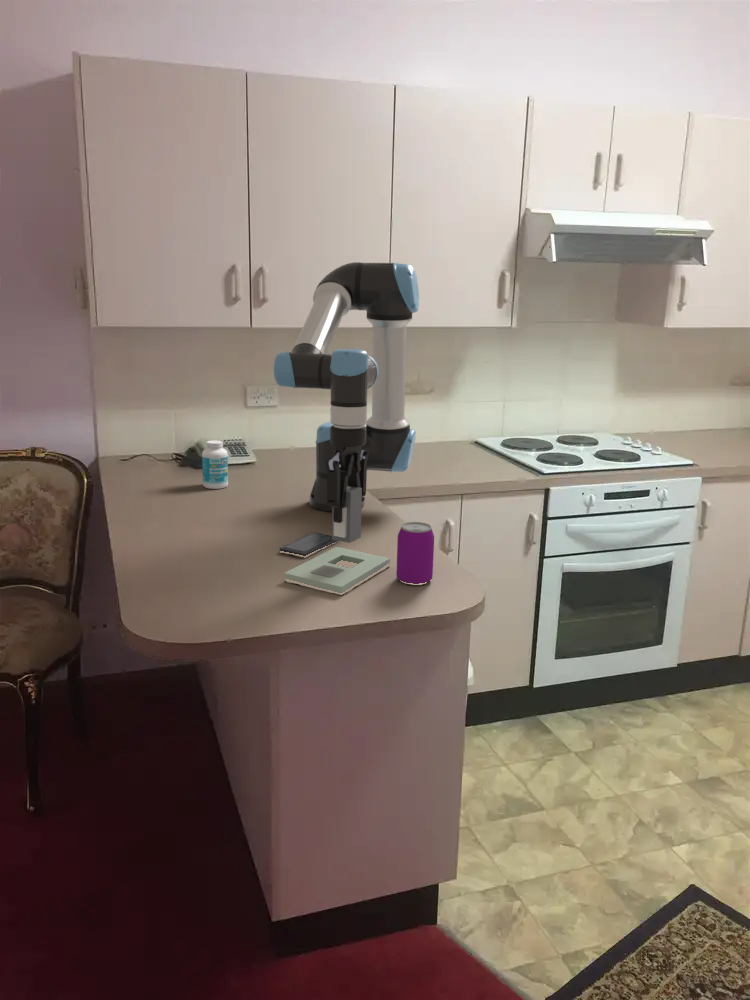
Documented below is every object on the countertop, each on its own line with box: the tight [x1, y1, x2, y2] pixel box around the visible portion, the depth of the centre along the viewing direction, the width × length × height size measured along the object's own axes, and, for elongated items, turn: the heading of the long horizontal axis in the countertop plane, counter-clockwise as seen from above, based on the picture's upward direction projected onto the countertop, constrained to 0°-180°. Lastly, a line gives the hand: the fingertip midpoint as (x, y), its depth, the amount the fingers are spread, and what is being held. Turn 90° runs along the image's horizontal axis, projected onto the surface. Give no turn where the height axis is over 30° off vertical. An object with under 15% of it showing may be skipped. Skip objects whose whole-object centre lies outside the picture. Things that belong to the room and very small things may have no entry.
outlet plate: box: [283, 546, 391, 593], centre depth 174 cm, size 20×14×2 cm
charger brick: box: [331, 486, 362, 544], centre depth 173 cm, size 4×4×11 cm
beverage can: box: [395, 521, 435, 584], centre depth 170 cm, size 8×8×12 cm
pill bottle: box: [201, 440, 229, 490], centre depth 239 cm, size 8×7×14 cm
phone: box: [279, 532, 339, 556], centre depth 190 cm, size 14×7×1 cm, turn 150°
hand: (346, 533), depth 174 cm, fingers closed on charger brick, 4 cm apart
